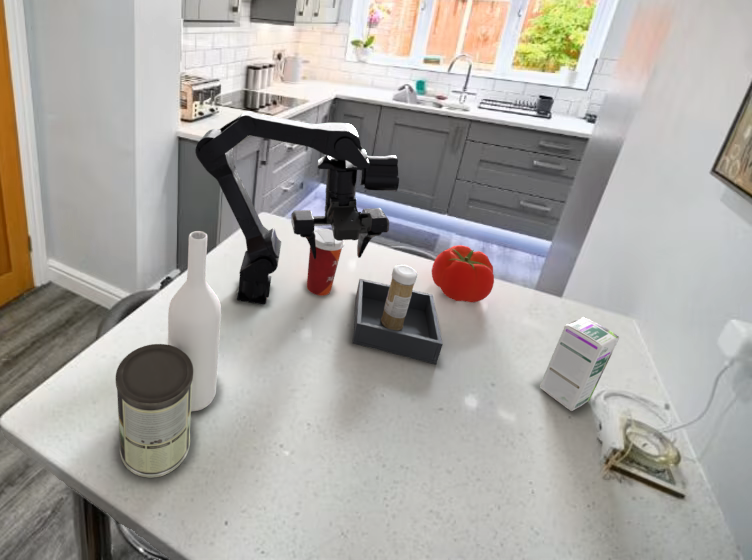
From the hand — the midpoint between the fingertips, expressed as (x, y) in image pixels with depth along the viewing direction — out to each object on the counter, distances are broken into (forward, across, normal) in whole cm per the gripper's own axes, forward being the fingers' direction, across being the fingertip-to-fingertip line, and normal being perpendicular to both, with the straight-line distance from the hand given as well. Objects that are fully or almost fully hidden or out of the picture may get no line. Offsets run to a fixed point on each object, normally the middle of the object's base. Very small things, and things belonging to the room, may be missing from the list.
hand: (336, 257), depth 91 cm
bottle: (+10, -29, -24) cm, 39 cm away
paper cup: (+13, -2, +7) cm, 14 cm away
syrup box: (+17, +37, -20) cm, 46 cm away
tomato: (+16, +31, +8) cm, 36 cm away
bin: (+14, +11, -5) cm, 19 cm away
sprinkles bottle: (+13, +11, -5) cm, 18 cm away
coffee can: (+10, -33, -33) cm, 48 cm away
